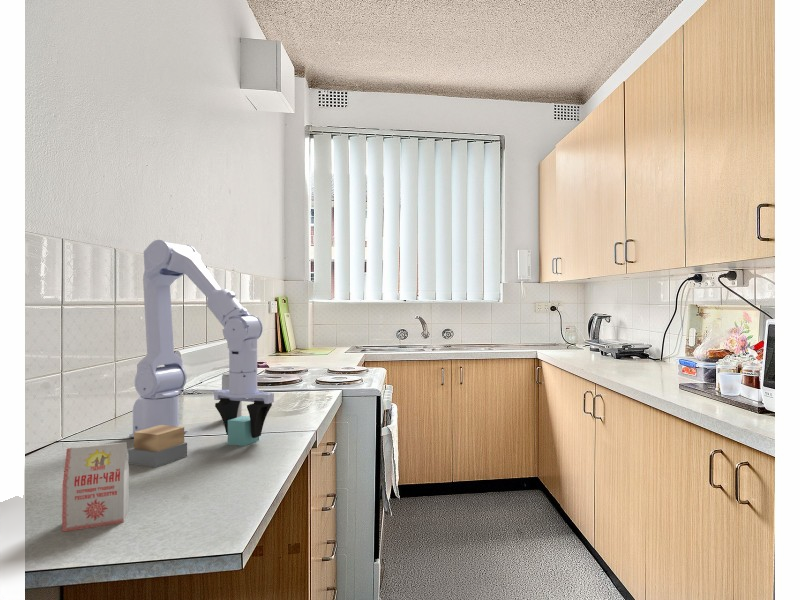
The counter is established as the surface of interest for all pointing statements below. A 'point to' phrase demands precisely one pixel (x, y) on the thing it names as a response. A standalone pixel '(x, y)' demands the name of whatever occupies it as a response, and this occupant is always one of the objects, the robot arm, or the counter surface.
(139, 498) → the counter surface
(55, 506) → the counter surface
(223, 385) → the beverage can
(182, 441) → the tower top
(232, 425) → the teal block
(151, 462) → the tower base
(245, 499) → the counter surface
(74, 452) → the tea box
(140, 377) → the robot arm
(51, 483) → the counter surface
